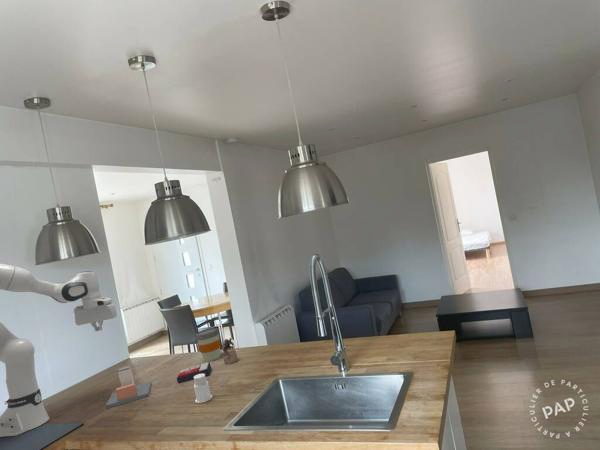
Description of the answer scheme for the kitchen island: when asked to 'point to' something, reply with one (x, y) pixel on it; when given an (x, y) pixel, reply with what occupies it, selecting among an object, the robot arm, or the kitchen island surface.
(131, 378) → the beige rectangular block
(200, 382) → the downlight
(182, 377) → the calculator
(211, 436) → the kitchen island surface
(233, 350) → the figurine
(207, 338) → the reusable coffee cup
